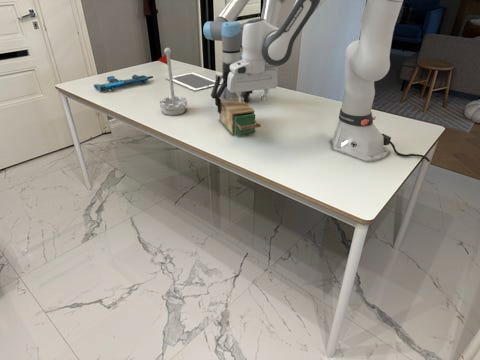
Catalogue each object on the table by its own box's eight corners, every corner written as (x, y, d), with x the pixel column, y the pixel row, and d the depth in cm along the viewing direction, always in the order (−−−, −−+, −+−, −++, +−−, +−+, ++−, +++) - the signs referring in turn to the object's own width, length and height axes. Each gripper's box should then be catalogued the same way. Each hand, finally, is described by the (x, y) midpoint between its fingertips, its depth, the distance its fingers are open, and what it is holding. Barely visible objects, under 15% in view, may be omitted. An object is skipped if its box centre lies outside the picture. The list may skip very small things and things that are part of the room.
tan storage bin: (253, 131, 149) (254, 110, 144) (232, 135, 146) (232, 113, 141) (239, 117, 163) (239, 97, 157) (219, 120, 160) (218, 100, 154)
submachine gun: (139, 69, 223) (157, 75, 206) (140, 75, 225) (158, 81, 208) (86, 79, 204) (101, 87, 188) (88, 85, 206) (103, 94, 190)
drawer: (260, 137, 142) (261, 119, 138) (240, 141, 140) (240, 123, 135) (241, 118, 159) (241, 102, 155) (223, 121, 157) (222, 104, 152)
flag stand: (184, 104, 177) (178, 43, 160) (190, 113, 167) (184, 49, 150) (159, 107, 173) (150, 46, 156) (163, 117, 163) (155, 52, 146)
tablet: (166, 78, 215) (166, 78, 215) (192, 72, 226) (192, 72, 226) (195, 91, 195) (194, 90, 195) (222, 83, 206) (222, 83, 206)
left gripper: (253, 57, 150) (252, 104, 162) (201, 62, 143) (204, 111, 155) (260, 61, 144) (259, 109, 156) (206, 66, 137) (209, 117, 149)
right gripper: (274, 61, 134) (272, 95, 142) (225, 65, 128) (226, 100, 136) (281, 65, 129) (279, 100, 137) (230, 70, 123) (231, 106, 131)
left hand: (232, 110), depth 156 cm, fingers open, 12 cm apart
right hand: (252, 100), depth 136 cm, fingers open, 8 cm apart
